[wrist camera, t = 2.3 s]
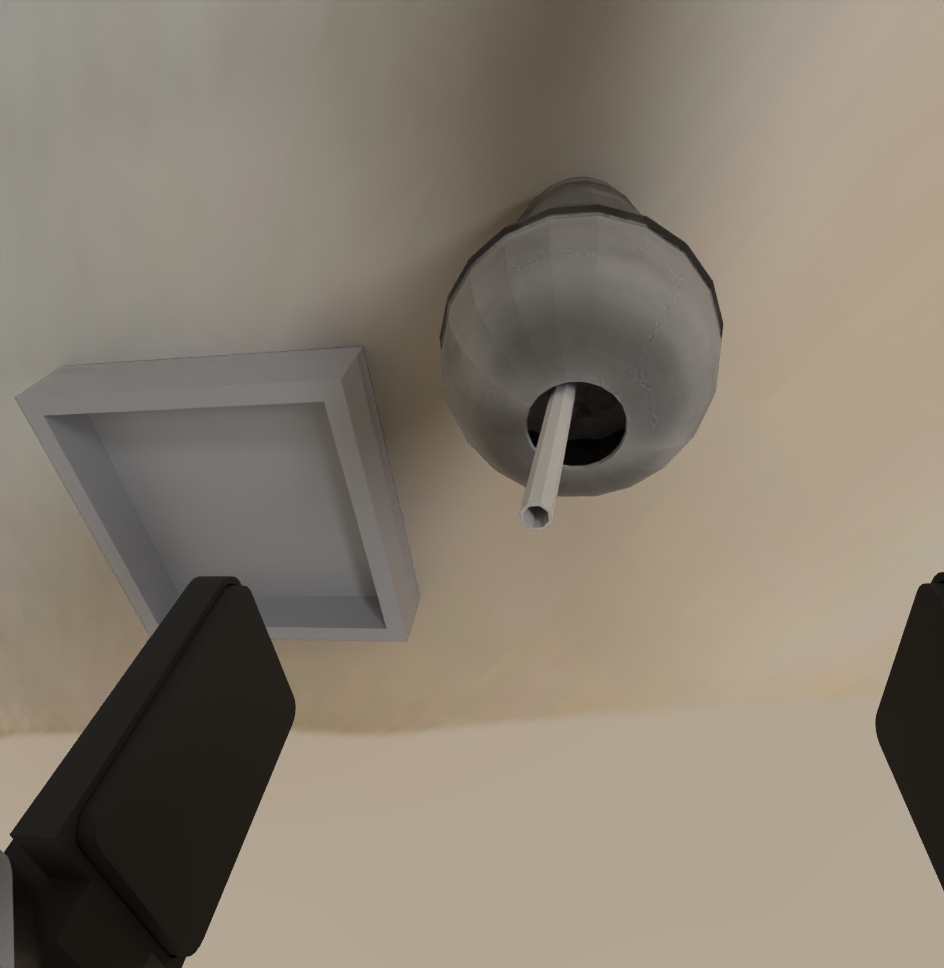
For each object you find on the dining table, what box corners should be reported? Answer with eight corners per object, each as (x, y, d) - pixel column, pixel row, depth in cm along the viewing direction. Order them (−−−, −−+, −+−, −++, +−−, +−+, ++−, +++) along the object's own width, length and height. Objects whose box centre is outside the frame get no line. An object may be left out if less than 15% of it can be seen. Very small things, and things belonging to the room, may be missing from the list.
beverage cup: (543, 352, 30) (498, 753, 13) (454, 206, 26) (252, 491, 10) (701, 269, 27) (892, 652, 10) (621, 92, 24) (712, 241, 7)
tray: (62, 365, 33) (14, 397, 31) (362, 346, 31) (340, 379, 28) (178, 595, 42) (149, 636, 39) (419, 597, 39) (407, 641, 37)
